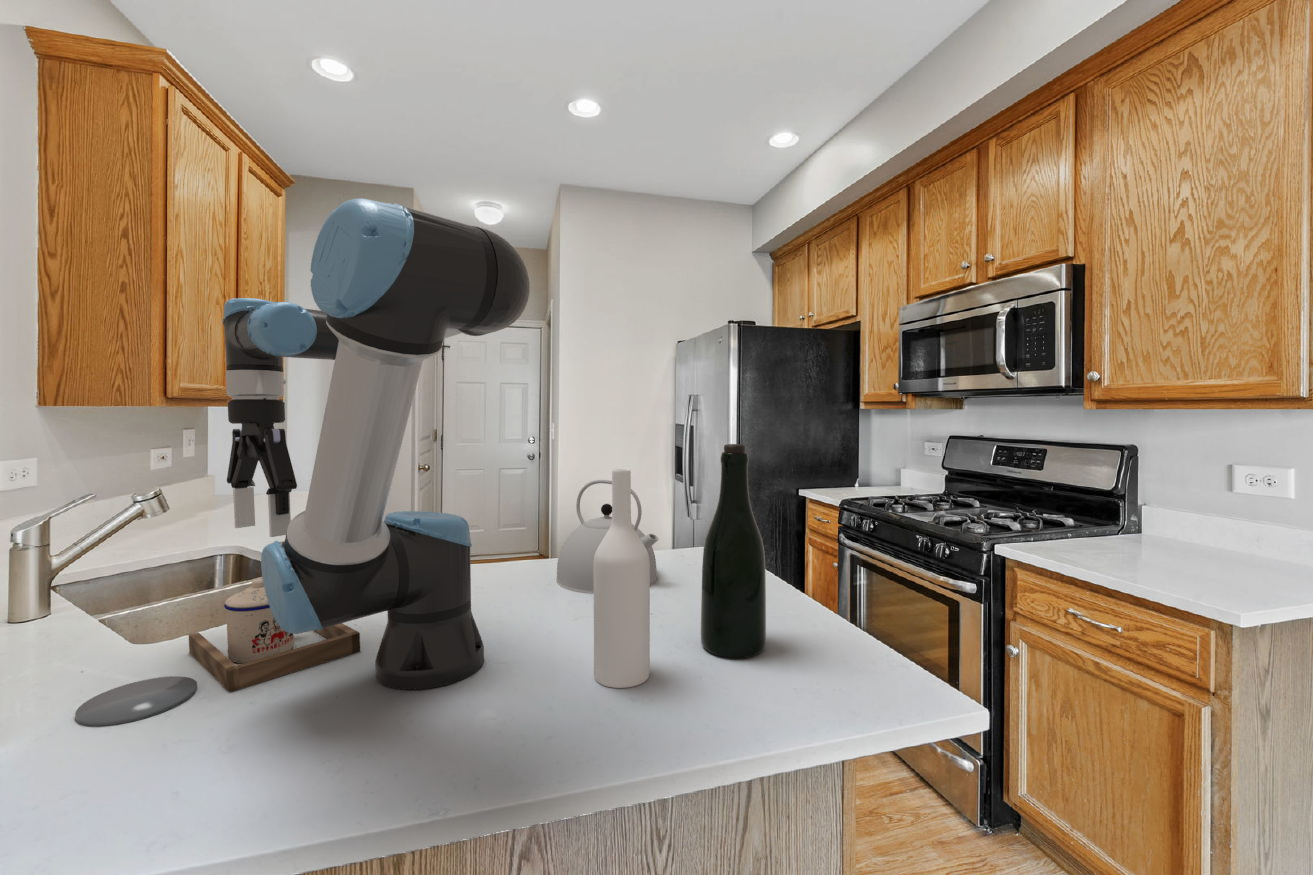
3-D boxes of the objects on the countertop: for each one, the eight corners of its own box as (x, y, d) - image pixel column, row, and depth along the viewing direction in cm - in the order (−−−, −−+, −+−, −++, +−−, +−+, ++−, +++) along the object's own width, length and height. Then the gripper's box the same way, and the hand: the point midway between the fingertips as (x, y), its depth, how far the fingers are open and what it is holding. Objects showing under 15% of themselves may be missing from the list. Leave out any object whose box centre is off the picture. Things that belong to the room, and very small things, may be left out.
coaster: (208, 698, 78) (208, 694, 78) (83, 737, 69) (83, 732, 69) (184, 672, 86) (184, 668, 86) (69, 704, 77) (68, 700, 77)
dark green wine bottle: (687, 646, 95) (688, 444, 94) (727, 629, 103) (728, 441, 101) (739, 666, 88) (741, 447, 86) (778, 646, 95) (781, 444, 94)
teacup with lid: (256, 668, 87) (253, 591, 87) (211, 660, 90) (208, 585, 89) (323, 638, 99) (321, 569, 98) (282, 631, 101) (280, 565, 101)
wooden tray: (360, 651, 93) (359, 632, 93) (229, 692, 80) (228, 670, 80) (309, 621, 106) (308, 605, 106) (189, 652, 93) (188, 634, 92)
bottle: (638, 659, 90) (638, 465, 89) (657, 682, 83) (658, 471, 81) (587, 668, 87) (586, 467, 86) (602, 692, 80) (601, 473, 78)
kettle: (684, 575, 136) (684, 478, 134) (627, 603, 116) (627, 490, 115) (598, 560, 149) (597, 472, 148) (534, 583, 130) (533, 482, 129)
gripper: (318, 396, 89) (323, 534, 90) (251, 401, 104) (256, 520, 105) (262, 395, 83) (268, 544, 84) (200, 400, 98) (205, 527, 99)
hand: (262, 531), depth 94 cm, fingers open, 13 cm apart
